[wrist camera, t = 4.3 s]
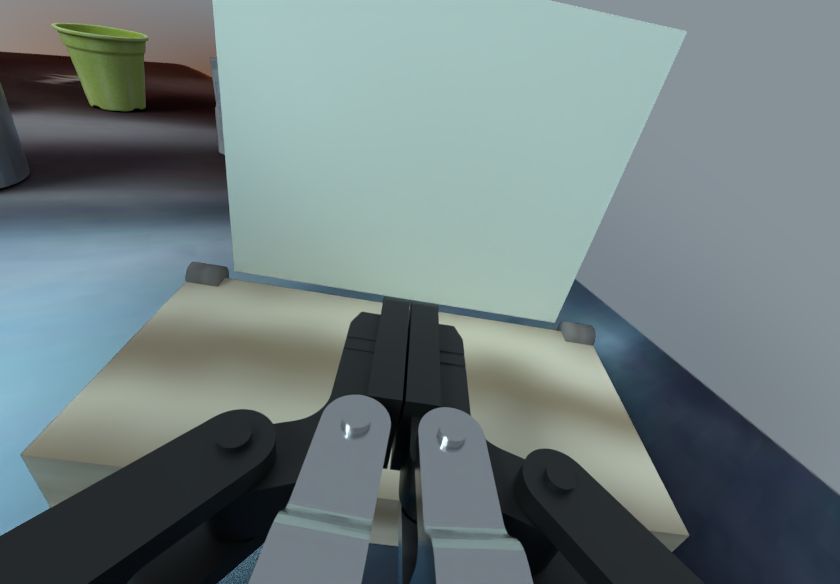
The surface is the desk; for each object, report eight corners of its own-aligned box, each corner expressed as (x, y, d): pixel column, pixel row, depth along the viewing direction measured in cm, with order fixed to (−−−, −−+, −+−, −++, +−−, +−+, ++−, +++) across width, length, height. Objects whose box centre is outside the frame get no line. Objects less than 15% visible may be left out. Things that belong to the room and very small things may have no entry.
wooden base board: (648, 574, 16) (700, 525, 14) (50, 507, 14) (11, 440, 12) (565, 367, 25) (589, 320, 23) (204, 312, 24) (197, 257, 22)
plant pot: (69, 112, 49) (46, 27, 44) (75, 95, 55) (56, 18, 50) (161, 118, 53) (149, 41, 48) (157, 101, 60) (146, 32, 55)
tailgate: (554, 322, 23) (687, 31, 16) (234, 271, 22) (206, -77, 14) (544, 298, 25) (656, 30, 18) (251, 250, 24) (235, -64, 16)
